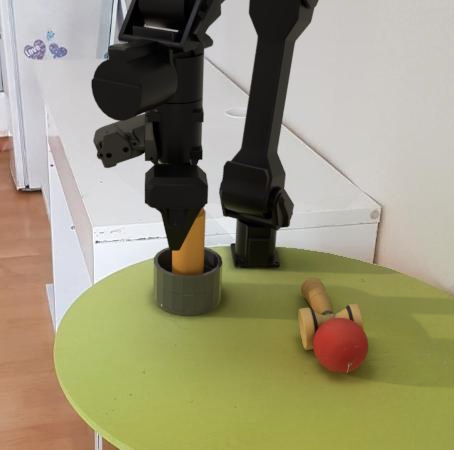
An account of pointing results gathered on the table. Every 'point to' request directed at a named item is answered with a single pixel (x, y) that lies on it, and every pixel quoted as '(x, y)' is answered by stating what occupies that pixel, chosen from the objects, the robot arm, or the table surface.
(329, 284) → the table surface
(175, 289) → the pot
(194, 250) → the orange tall cylinder
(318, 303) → the kendama
